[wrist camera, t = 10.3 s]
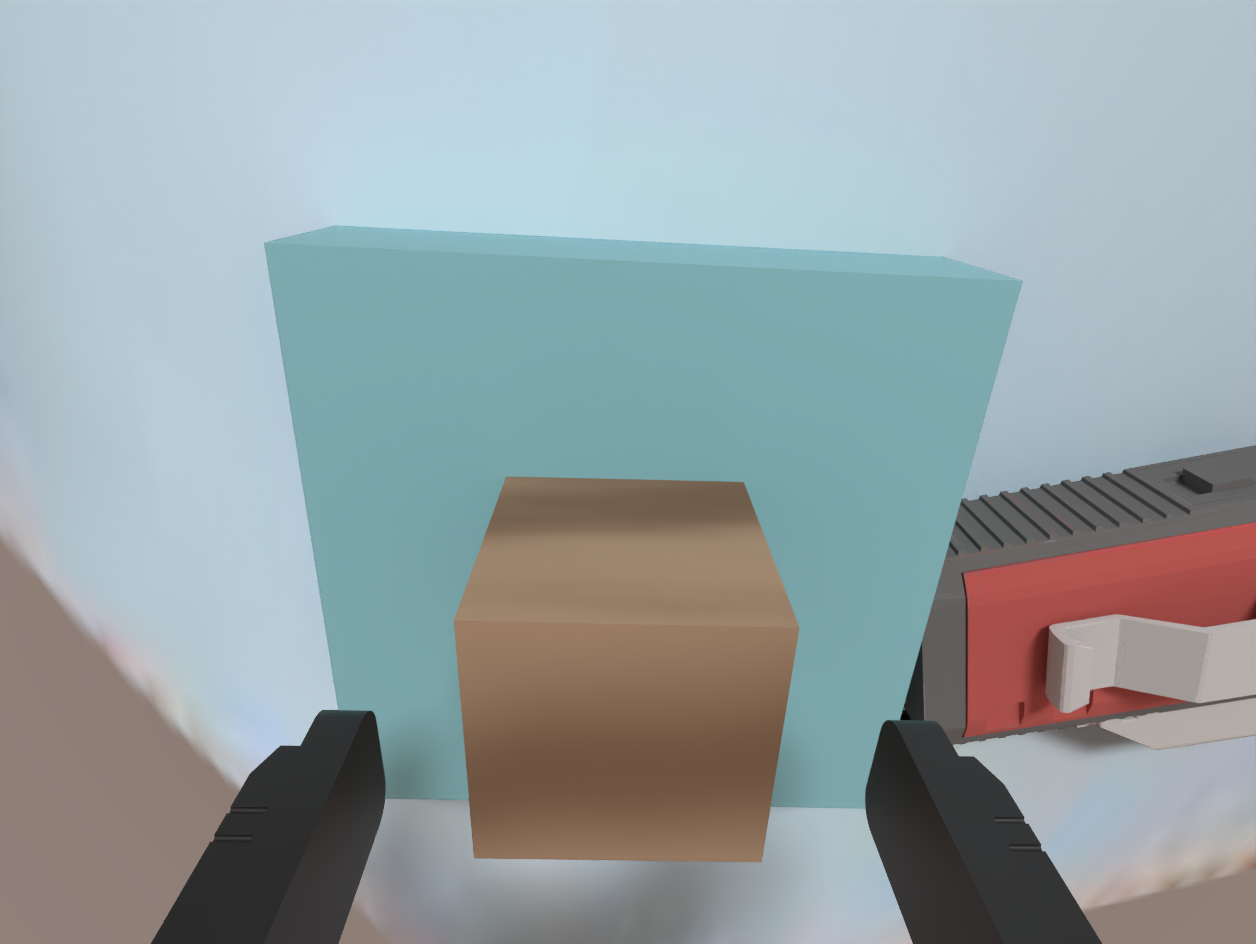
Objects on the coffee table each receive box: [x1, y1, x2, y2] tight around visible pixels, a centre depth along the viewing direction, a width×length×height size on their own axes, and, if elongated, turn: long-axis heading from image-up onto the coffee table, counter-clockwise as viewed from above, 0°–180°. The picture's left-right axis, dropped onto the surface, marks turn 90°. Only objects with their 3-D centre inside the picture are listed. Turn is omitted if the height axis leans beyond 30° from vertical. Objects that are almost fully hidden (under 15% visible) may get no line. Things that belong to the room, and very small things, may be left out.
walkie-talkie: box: [900, 446, 1256, 750], centre depth 18 cm, size 9×4×20 cm
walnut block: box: [454, 477, 800, 862], centre depth 13 cm, size 5×5×5 cm
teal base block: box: [264, 226, 1022, 809], centre depth 17 cm, size 14×14×4 cm
